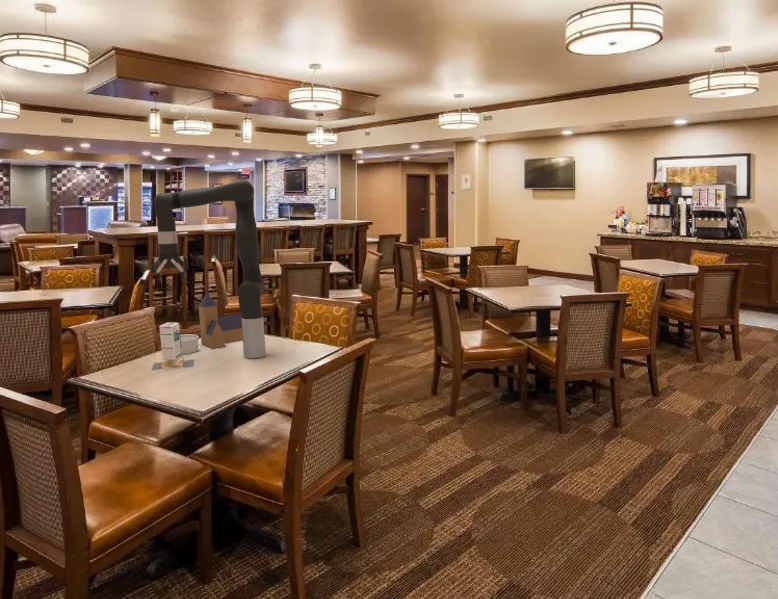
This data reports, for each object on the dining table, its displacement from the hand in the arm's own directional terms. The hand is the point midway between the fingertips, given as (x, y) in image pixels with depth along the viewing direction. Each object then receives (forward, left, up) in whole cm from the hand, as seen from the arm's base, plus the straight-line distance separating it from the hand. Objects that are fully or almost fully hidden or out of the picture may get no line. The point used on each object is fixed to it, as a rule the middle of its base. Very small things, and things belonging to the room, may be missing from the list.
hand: (171, 281), depth 247 cm
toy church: (-20, -24, -34) cm, 47 cm away
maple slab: (+1, +10, -34) cm, 35 cm away
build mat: (+1, +9, -34) cm, 35 cm away
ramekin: (-2, -13, -34) cm, 37 cm away
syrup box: (+1, +10, -31) cm, 32 cm away
